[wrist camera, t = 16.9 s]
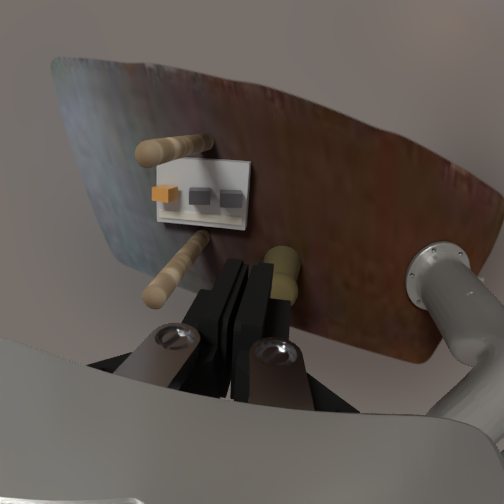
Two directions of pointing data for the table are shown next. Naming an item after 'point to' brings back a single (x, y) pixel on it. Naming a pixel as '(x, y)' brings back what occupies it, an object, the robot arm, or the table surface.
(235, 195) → the grey block
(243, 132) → the table surface
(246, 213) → the panel
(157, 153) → the post near
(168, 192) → the orange block
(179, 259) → the post far
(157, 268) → the table surface
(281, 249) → the cork
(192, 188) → the grey block
